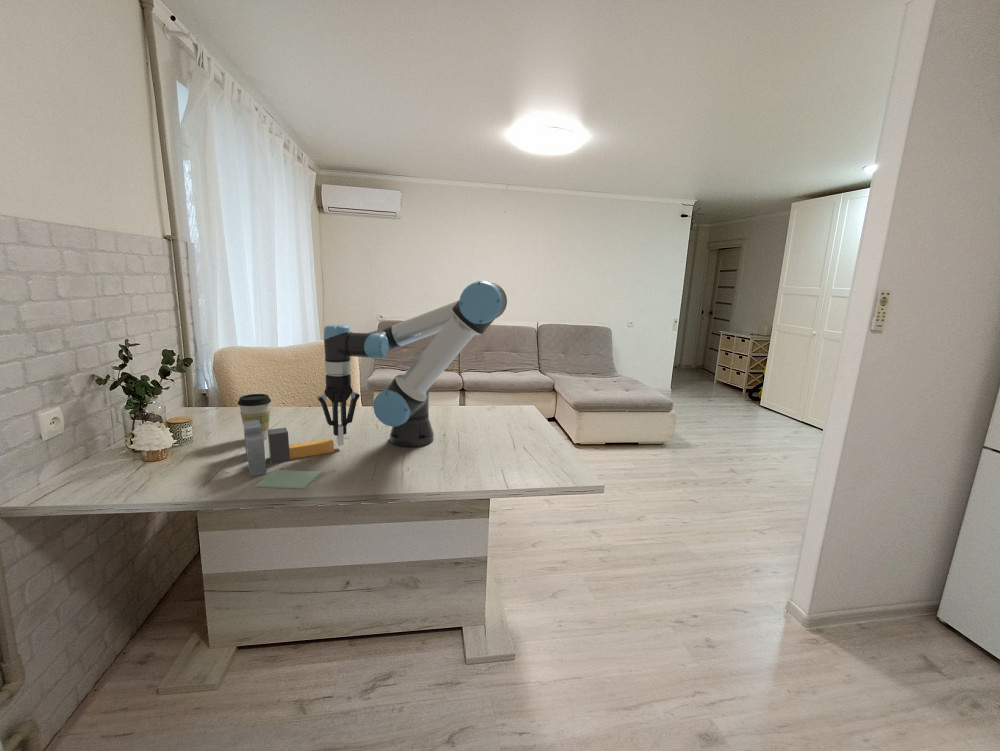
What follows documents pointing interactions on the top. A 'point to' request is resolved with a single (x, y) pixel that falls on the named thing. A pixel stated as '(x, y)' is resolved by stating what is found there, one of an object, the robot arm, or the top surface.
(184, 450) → the top surface
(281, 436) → the plug
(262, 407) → the coffee cup
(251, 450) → the block
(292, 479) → the mat
